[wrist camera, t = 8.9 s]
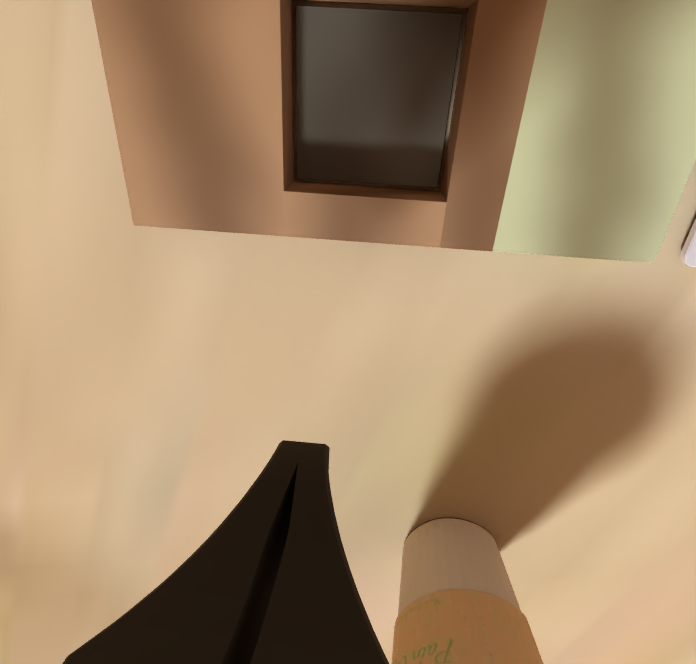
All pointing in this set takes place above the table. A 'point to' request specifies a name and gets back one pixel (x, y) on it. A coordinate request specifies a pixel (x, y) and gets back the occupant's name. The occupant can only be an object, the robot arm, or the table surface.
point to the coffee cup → (458, 600)
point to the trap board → (408, 120)
